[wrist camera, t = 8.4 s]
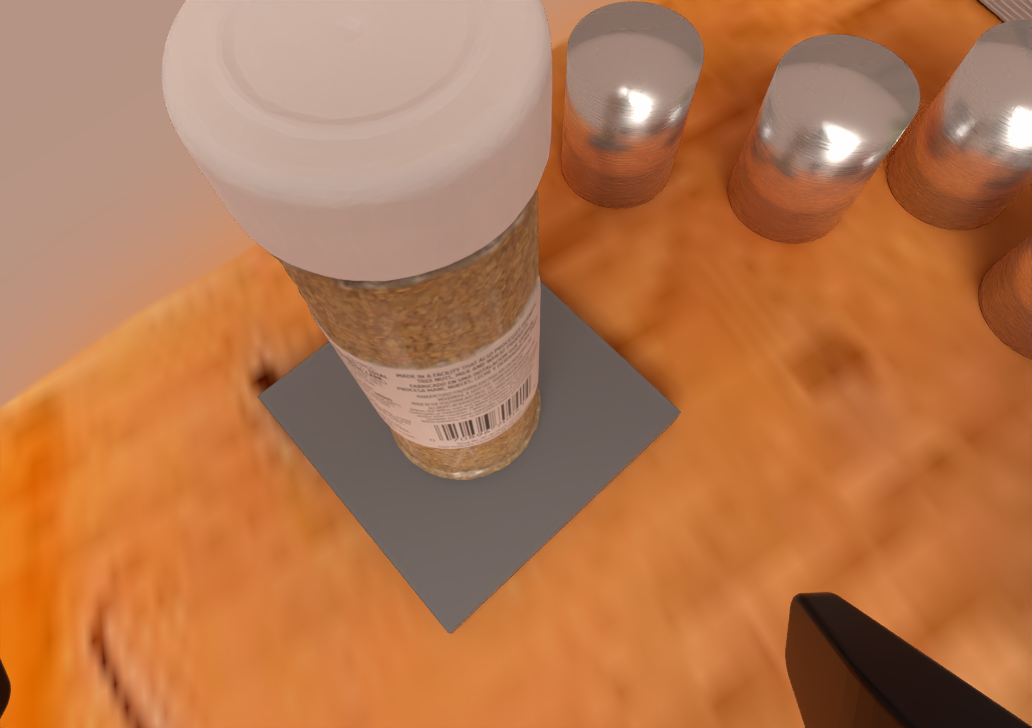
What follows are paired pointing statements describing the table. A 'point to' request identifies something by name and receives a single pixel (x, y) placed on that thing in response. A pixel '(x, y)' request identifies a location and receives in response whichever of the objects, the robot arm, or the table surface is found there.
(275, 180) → the sprinkles bottle
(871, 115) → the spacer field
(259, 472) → the table surface
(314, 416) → the mat
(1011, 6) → the padlock
